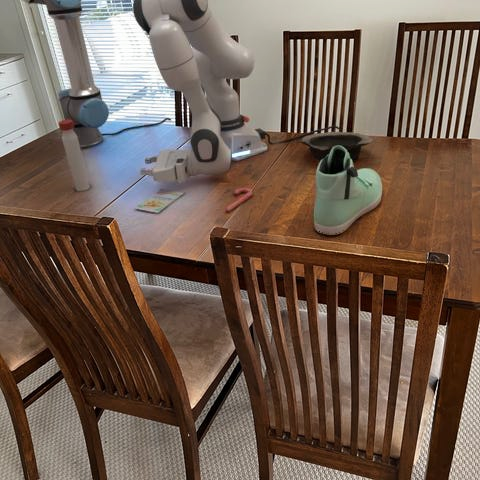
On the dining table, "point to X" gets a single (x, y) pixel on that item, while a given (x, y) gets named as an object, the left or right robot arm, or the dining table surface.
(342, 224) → the sneaker
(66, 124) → the cap
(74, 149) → the bottle
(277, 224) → the dining table surface
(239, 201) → the candy cane
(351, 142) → the stone bowl
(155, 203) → the baking ingredient package
